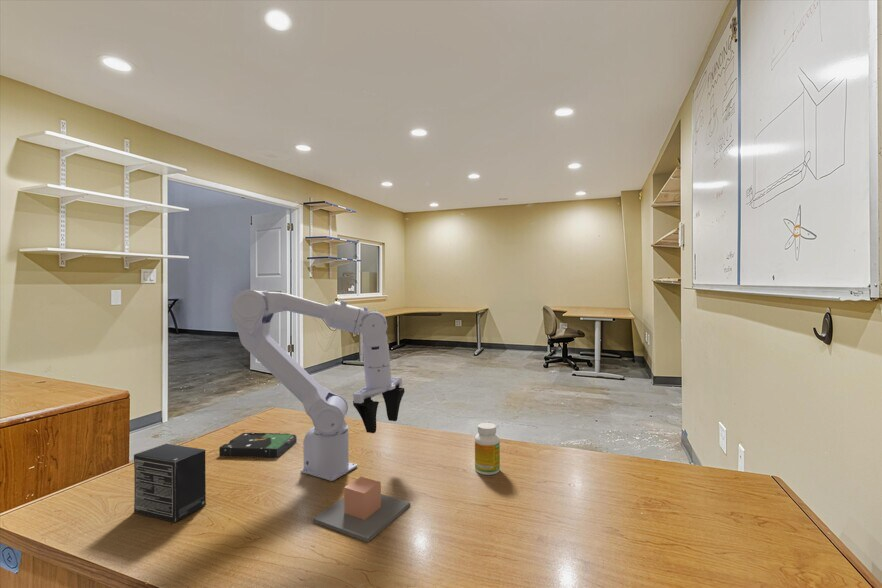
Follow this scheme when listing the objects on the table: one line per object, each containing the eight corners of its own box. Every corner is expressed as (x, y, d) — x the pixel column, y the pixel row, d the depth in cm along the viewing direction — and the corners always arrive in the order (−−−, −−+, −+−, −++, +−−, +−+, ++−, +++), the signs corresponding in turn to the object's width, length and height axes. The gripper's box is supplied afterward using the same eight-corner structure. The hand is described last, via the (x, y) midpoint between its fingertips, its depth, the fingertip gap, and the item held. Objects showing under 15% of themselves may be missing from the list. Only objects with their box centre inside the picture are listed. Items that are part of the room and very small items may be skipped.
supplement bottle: (499, 476, 83) (498, 430, 83) (473, 474, 85) (473, 429, 84) (500, 465, 89) (500, 422, 89) (476, 463, 90) (476, 420, 90)
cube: (344, 513, 69) (344, 487, 69) (361, 500, 73) (361, 476, 73) (364, 520, 67) (364, 493, 67) (380, 507, 71) (380, 482, 71)
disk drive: (218, 459, 95) (278, 459, 94) (218, 447, 95) (278, 448, 94) (243, 442, 105) (297, 443, 104) (242, 432, 105) (297, 432, 104)
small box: (209, 504, 74) (208, 448, 74) (175, 524, 68) (174, 462, 67) (167, 495, 77) (167, 441, 77) (132, 513, 71) (131, 454, 71)
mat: (312, 521, 68) (312, 518, 68) (358, 490, 78) (358, 487, 78) (367, 542, 62) (367, 538, 62) (410, 505, 72) (410, 502, 72)
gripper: (369, 373, 80) (375, 440, 80) (410, 359, 92) (415, 417, 93) (343, 372, 84) (349, 436, 84) (386, 358, 96) (391, 414, 96)
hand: (382, 426), depth 88 cm, fingers open, 7 cm apart
